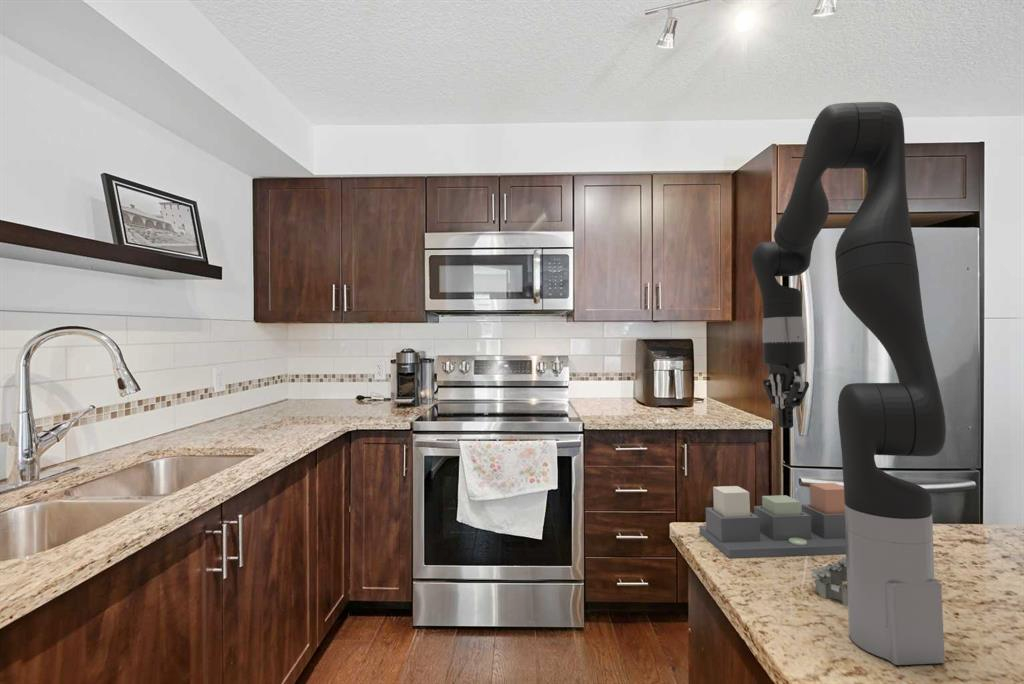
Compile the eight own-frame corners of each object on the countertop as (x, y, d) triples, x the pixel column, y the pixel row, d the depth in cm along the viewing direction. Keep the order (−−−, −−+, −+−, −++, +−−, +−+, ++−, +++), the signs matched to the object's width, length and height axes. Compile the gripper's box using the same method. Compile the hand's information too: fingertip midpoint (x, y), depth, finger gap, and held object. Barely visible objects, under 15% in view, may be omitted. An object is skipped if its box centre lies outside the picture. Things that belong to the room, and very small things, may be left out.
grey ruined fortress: (856, 612, 78) (855, 584, 78) (806, 593, 84) (805, 566, 84) (895, 594, 83) (893, 567, 83) (844, 577, 89) (843, 552, 89)
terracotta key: (851, 520, 104) (850, 489, 104) (826, 521, 104) (825, 489, 104) (835, 512, 109) (834, 483, 109) (811, 513, 109) (809, 483, 109)
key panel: (878, 552, 99) (877, 520, 99) (729, 558, 98) (728, 525, 98) (830, 528, 113) (829, 499, 113) (699, 532, 112) (698, 503, 112)
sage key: (801, 533, 104) (800, 501, 104) (776, 534, 104) (775, 502, 104) (787, 525, 109) (786, 495, 109) (763, 525, 109) (762, 496, 109)
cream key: (750, 523, 103) (749, 492, 104) (724, 524, 103) (723, 493, 103) (738, 515, 108) (737, 485, 109) (714, 516, 108) (713, 486, 108)
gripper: (822, 339, 101) (825, 431, 101) (783, 341, 114) (785, 422, 114) (783, 340, 101) (786, 432, 100) (748, 341, 114) (751, 423, 114)
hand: (786, 427), depth 107 cm, fingers closed
